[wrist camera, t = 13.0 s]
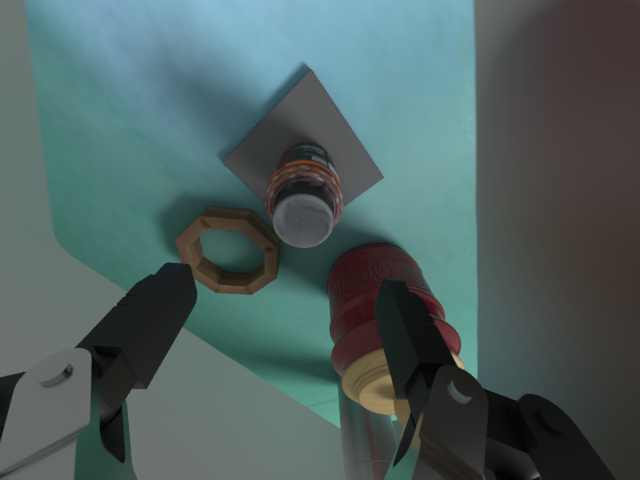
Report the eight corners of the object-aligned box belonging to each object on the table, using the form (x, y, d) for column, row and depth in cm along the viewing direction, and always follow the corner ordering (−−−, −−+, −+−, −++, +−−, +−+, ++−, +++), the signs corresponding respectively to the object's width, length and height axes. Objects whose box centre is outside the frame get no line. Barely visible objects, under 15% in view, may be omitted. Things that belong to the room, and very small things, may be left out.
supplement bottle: (284, 200, 26) (266, 264, 16) (272, 144, 22) (241, 183, 13) (337, 194, 25) (350, 256, 16) (333, 136, 22) (346, 171, 13)
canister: (316, 299, 36) (316, 448, 21) (343, 230, 29) (371, 378, 14) (392, 313, 38) (442, 458, 23) (434, 252, 31) (543, 401, 16)
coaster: (382, 175, 25) (384, 177, 24) (300, 235, 29) (300, 237, 29) (311, 69, 20) (311, 69, 19) (223, 160, 24) (221, 161, 23)
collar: (297, 252, 31) (296, 264, 28) (240, 292, 34) (235, 305, 32) (227, 188, 26) (219, 197, 23) (169, 243, 29) (158, 255, 27)
